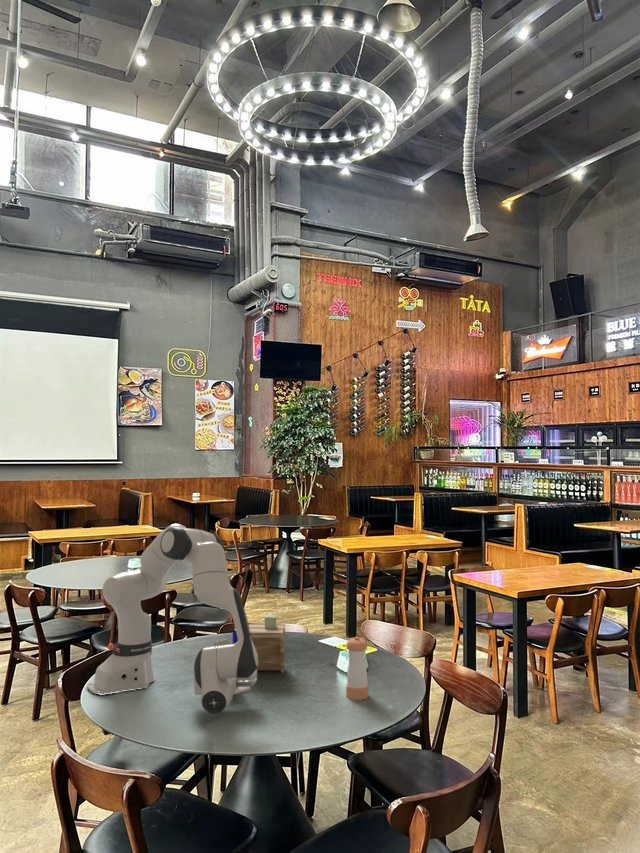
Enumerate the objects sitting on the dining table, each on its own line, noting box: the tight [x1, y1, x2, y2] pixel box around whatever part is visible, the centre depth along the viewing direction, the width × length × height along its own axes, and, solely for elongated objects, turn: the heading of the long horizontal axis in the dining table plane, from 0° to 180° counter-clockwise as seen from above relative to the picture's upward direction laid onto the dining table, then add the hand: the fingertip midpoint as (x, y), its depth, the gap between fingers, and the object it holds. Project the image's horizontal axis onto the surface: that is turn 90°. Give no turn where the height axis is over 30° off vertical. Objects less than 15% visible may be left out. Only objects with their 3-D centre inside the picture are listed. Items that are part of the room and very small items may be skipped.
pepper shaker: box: [345, 636, 369, 701], centre depth 204 cm, size 7×7×19 cm
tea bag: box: [213, 638, 230, 646], centre depth 234 cm, size 4×7×10 cm, turn 139°
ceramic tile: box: [233, 686, 251, 695], centre depth 210 cm, size 10×10×1 cm
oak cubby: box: [248, 623, 286, 674], centre depth 225 cm, size 12×16×16 cm
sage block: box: [264, 614, 277, 629], centre depth 228 cm, size 4×4×4 cm
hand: (228, 669), depth 204 cm, fingers open, 8 cm apart
